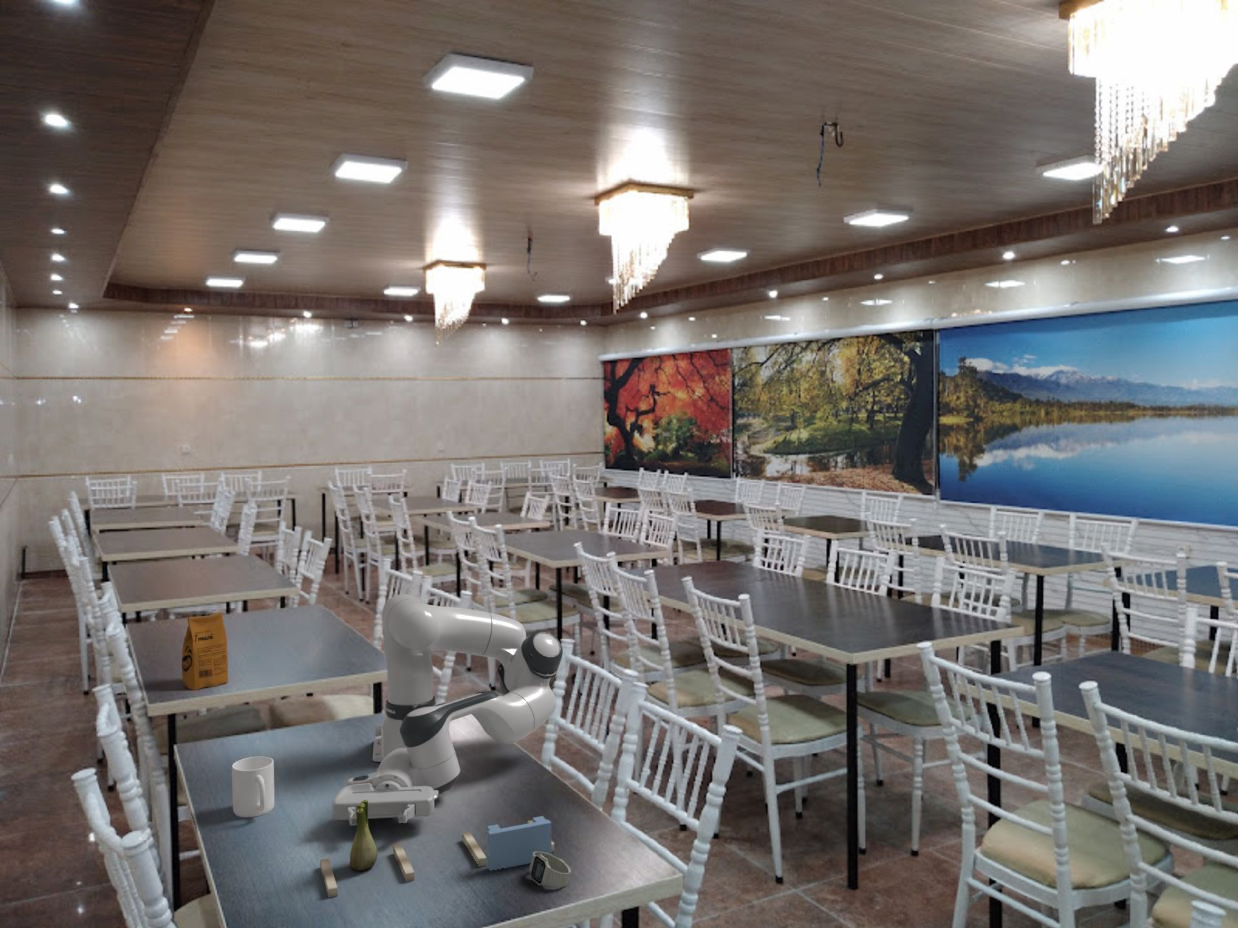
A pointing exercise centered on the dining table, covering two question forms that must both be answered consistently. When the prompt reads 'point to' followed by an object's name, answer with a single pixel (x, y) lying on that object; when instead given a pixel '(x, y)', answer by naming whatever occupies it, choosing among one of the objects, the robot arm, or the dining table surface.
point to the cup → (253, 786)
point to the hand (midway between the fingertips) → (377, 820)
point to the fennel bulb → (363, 841)
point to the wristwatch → (549, 870)
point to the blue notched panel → (518, 843)
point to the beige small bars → (406, 862)
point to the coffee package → (205, 652)
